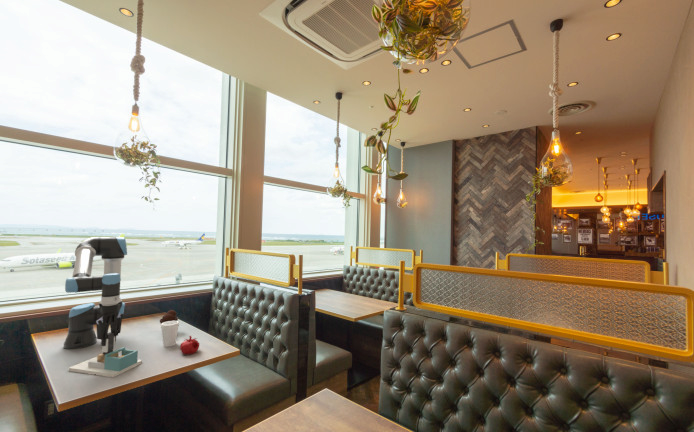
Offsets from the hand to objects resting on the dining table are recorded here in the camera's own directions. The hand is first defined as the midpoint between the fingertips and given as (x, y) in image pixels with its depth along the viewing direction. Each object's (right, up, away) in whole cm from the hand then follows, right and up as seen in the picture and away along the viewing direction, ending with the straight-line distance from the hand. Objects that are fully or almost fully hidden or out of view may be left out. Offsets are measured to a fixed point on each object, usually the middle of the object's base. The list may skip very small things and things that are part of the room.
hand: (108, 350), depth 157 cm
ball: (+9, -4, -2) cm, 10 cm away
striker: (0, -7, 0) cm, 7 cm away
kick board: (0, -8, 0) cm, 8 cm away
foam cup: (+13, -10, +30) cm, 35 cm away
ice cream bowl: (+1, -11, +50) cm, 52 cm away
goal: (+8, -7, -2) cm, 11 cm away
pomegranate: (+32, -10, +19) cm, 38 cm away
